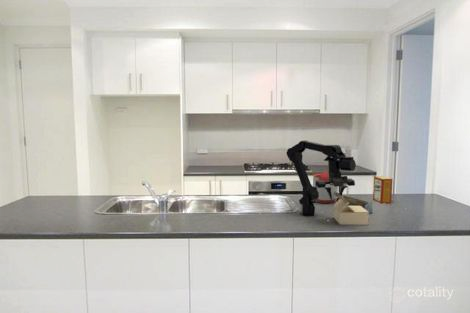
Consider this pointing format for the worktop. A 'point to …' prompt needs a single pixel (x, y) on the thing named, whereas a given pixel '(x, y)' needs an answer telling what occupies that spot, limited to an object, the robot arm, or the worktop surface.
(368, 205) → the beverage carton
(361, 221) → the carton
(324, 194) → the citrus juicer
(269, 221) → the worktop surface
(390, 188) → the baking soda box
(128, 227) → the worktop surface
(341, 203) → the cabinet door with handle
